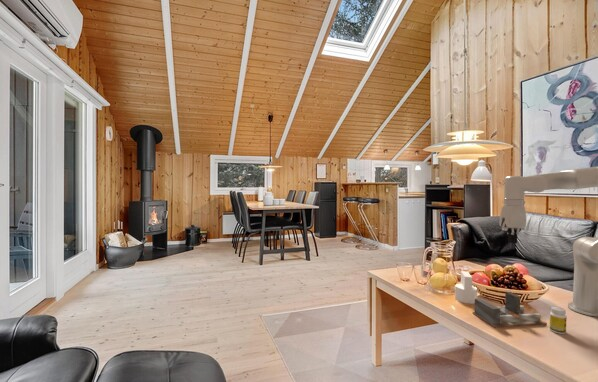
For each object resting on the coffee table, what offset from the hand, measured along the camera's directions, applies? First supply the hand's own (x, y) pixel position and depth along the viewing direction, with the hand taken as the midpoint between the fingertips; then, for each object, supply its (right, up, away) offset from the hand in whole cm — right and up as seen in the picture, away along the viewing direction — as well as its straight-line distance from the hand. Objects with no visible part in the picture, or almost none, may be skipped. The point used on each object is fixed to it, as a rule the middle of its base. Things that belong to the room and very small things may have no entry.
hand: (512, 242), depth 139 cm
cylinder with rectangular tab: (-20, -27, +2) cm, 34 cm away
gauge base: (-14, -28, -17) cm, 35 cm away
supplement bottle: (-2, -28, -27) cm, 39 cm away
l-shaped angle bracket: (-15, -27, -19) cm, 36 cm away
